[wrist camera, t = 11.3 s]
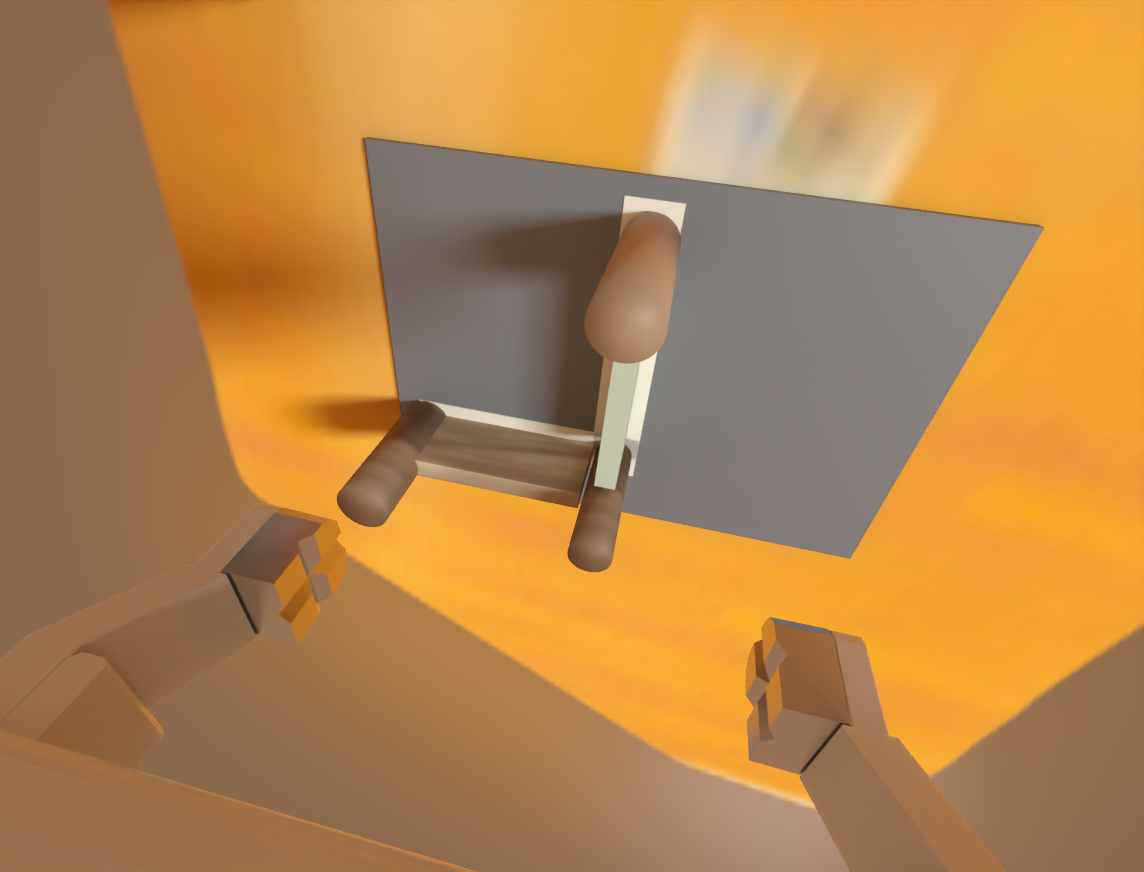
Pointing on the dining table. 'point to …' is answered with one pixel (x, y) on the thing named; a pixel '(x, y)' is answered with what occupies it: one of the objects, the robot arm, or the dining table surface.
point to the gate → (631, 322)
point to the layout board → (691, 328)
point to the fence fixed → (490, 474)
